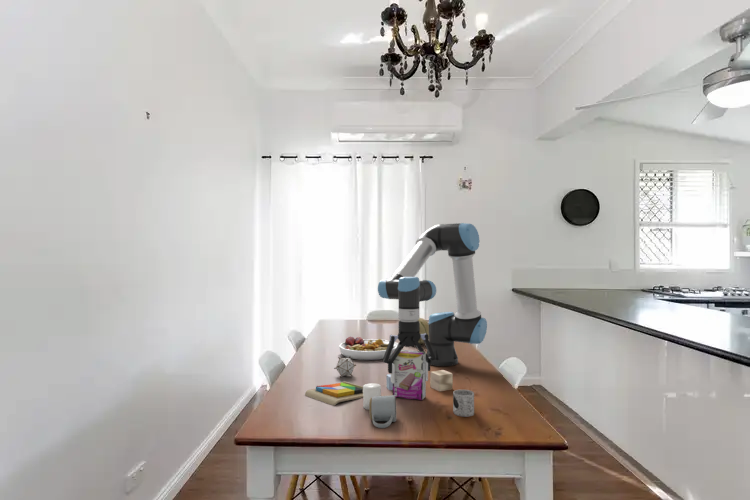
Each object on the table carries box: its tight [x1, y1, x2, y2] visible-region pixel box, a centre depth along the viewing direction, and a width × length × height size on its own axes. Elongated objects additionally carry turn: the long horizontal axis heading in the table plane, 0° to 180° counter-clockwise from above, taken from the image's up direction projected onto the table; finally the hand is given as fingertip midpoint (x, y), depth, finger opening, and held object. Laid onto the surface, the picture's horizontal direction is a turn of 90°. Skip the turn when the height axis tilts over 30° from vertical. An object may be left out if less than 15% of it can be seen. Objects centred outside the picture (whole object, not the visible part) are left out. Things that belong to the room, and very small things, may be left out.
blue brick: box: [386, 373, 393, 391], centre depth 182 cm, size 8×4×5 cm, turn 102°
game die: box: [333, 356, 357, 379], centre depth 199 cm, size 9×8×10 cm
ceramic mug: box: [368, 394, 397, 429], centre depth 146 cm, size 11×8×8 cm
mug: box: [452, 389, 475, 418], centre depth 152 cm, size 10×7×7 cm
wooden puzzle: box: [304, 380, 363, 407], centre depth 174 cm, size 18×19×4 cm
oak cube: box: [429, 369, 454, 392], centre depth 181 cm, size 6×6×6 cm
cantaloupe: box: [418, 317, 429, 345], centre depth 264 cm, size 15×15×15 cm
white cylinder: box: [362, 382, 382, 411], centre depth 160 cm, size 6×6×7 cm
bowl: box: [339, 336, 399, 361], centre depth 240 cm, size 30×30×8 cm
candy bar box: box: [392, 349, 427, 401], centre depth 170 cm, size 11×5×16 cm, turn 71°
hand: (409, 381), depth 170 cm, fingers closed on candy bar box, 12 cm apart
